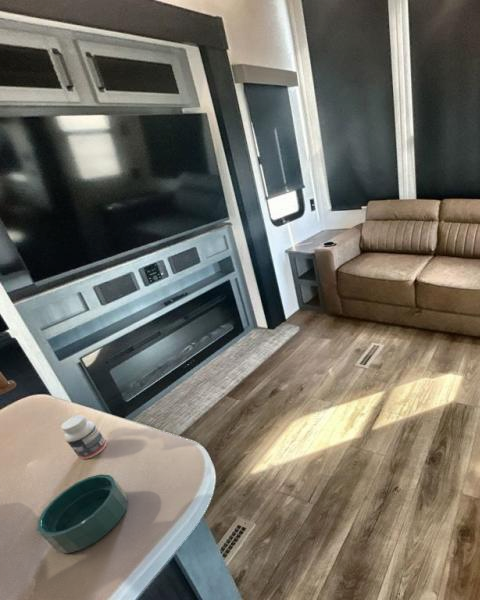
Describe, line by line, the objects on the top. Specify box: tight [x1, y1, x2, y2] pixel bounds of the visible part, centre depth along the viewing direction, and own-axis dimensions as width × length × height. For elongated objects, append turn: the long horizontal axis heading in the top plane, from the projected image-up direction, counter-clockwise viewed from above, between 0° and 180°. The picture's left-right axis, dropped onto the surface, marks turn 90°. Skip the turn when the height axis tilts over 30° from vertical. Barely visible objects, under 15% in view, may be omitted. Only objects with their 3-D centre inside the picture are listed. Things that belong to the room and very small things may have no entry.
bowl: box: [36, 473, 129, 554], centre depth 65 cm, size 11×11×6 cm
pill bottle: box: [61, 414, 107, 460], centre depth 80 cm, size 5×5×9 cm
